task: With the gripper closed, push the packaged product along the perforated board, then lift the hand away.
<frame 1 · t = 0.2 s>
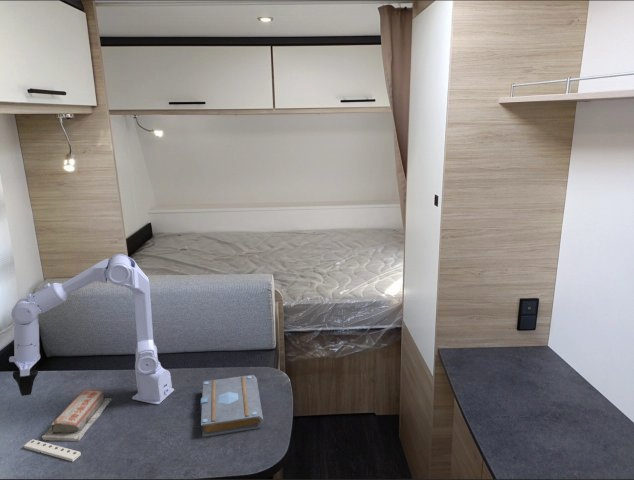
hand: (27, 387, 126), 10 cm above the table, tool pointing down, fingers open, 7 cm apart
perforated board: (52, 451, 116), on the table
packaged product: (79, 421, 129), on the table
book: (231, 410, 132), on the table
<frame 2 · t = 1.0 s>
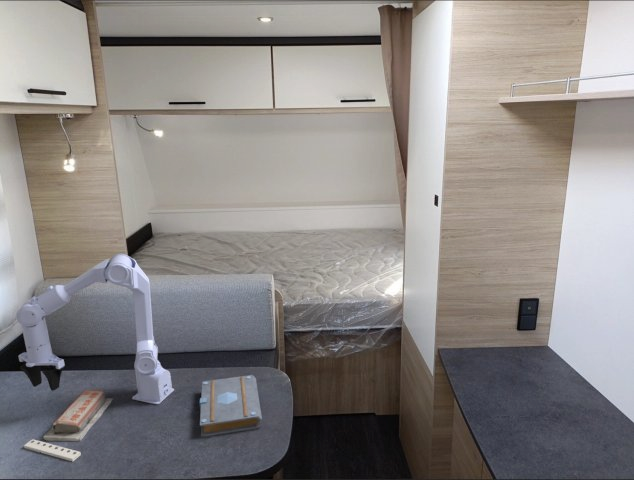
hand: (46, 386, 129), 8 cm above the table, tool pointing down, fingers open, 6 cm apart
nothing on the table moved.
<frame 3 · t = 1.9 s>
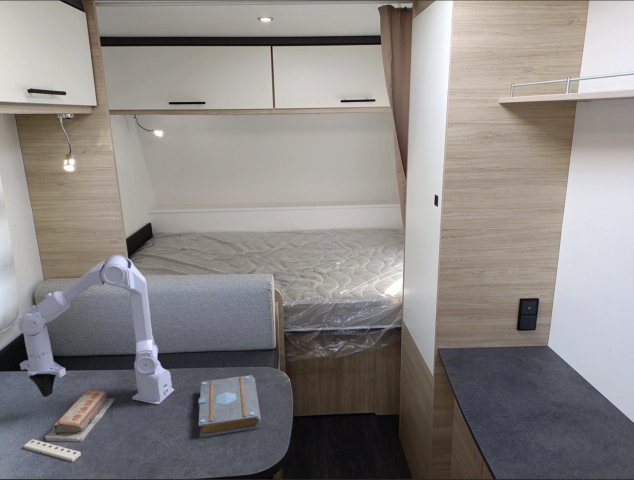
hand: (47, 394, 130), 6 cm above the table, tool pointing down, fingers closed
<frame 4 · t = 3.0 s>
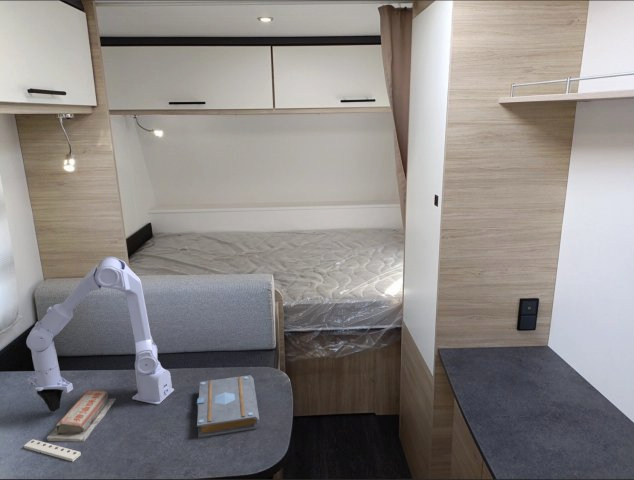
hand: (55, 409, 131), 1 cm above the table, tool pointing down, fingers closed
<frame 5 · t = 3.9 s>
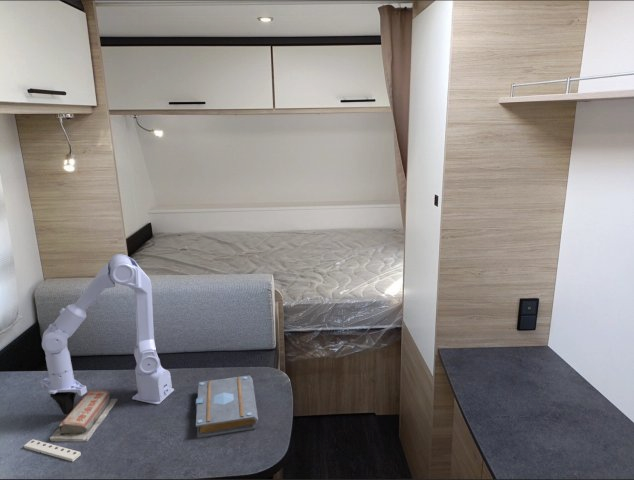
hand: (68, 412, 129), 1 cm above the table, tool pointing down, fingers closed, pressing on packaged product
packaged product: (86, 422, 128), on the table, touching gripper
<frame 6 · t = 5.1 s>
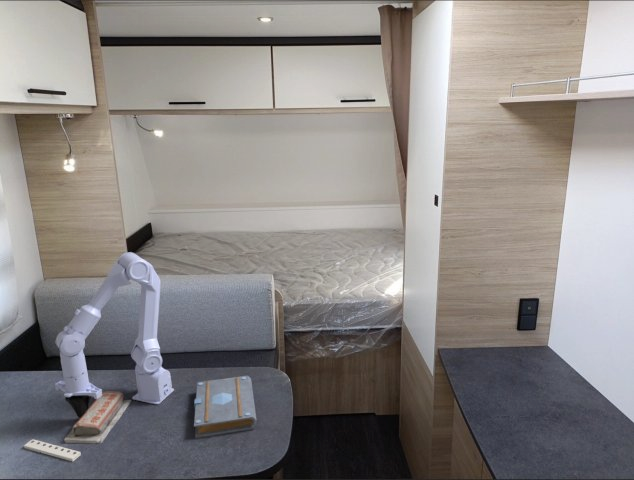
hand: (82, 415, 128), 1 cm above the table, tool pointing down, fingers closed
packaged product: (100, 423, 128), on the table, touching gripper
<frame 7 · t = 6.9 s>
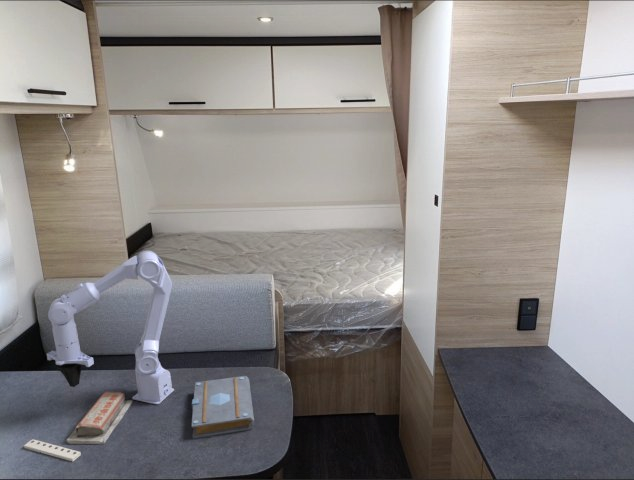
hand: (74, 384, 130), 9 cm above the table, tool pointing down, fingers closed
packaged product: (102, 423, 127), on the table
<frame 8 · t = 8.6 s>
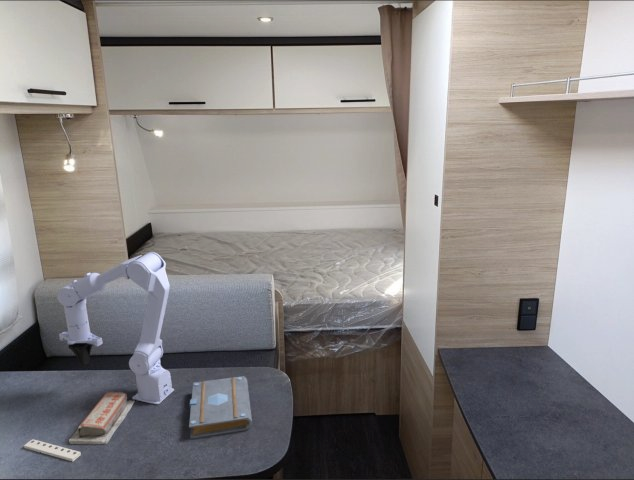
hand: (84, 363, 140), 9 cm above the table, tool pointing down, fingers closed
at the end: packaged product inside the target area (2.2 cm from its centre), on the table; packaged product moved 8.2 cm from its start; packaged product tilted 1° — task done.
